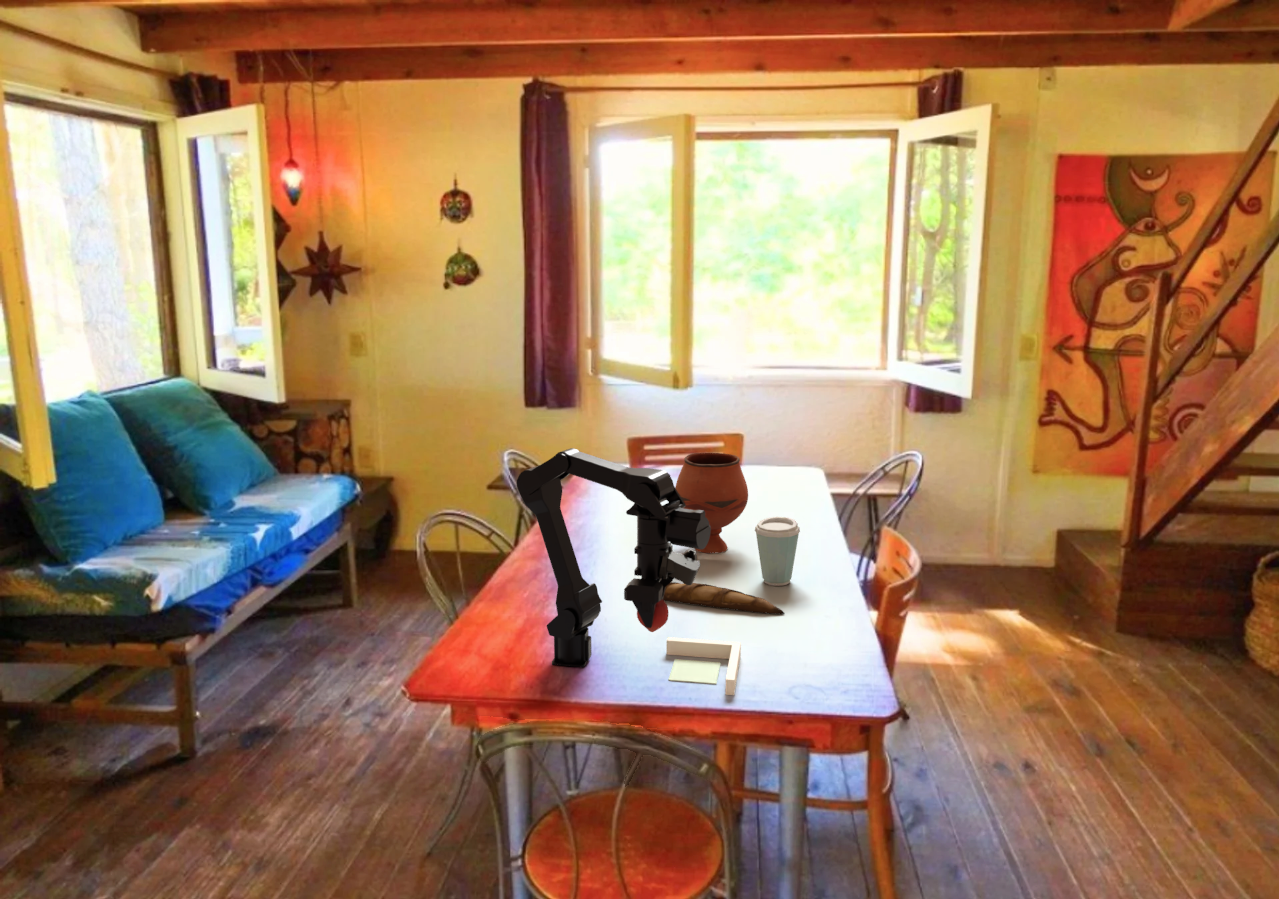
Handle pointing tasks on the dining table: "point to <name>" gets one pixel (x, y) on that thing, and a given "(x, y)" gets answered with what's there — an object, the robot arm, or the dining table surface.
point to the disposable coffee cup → (777, 548)
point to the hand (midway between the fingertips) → (652, 620)
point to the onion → (657, 616)
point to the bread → (717, 598)
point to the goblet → (713, 492)
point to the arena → (704, 669)
